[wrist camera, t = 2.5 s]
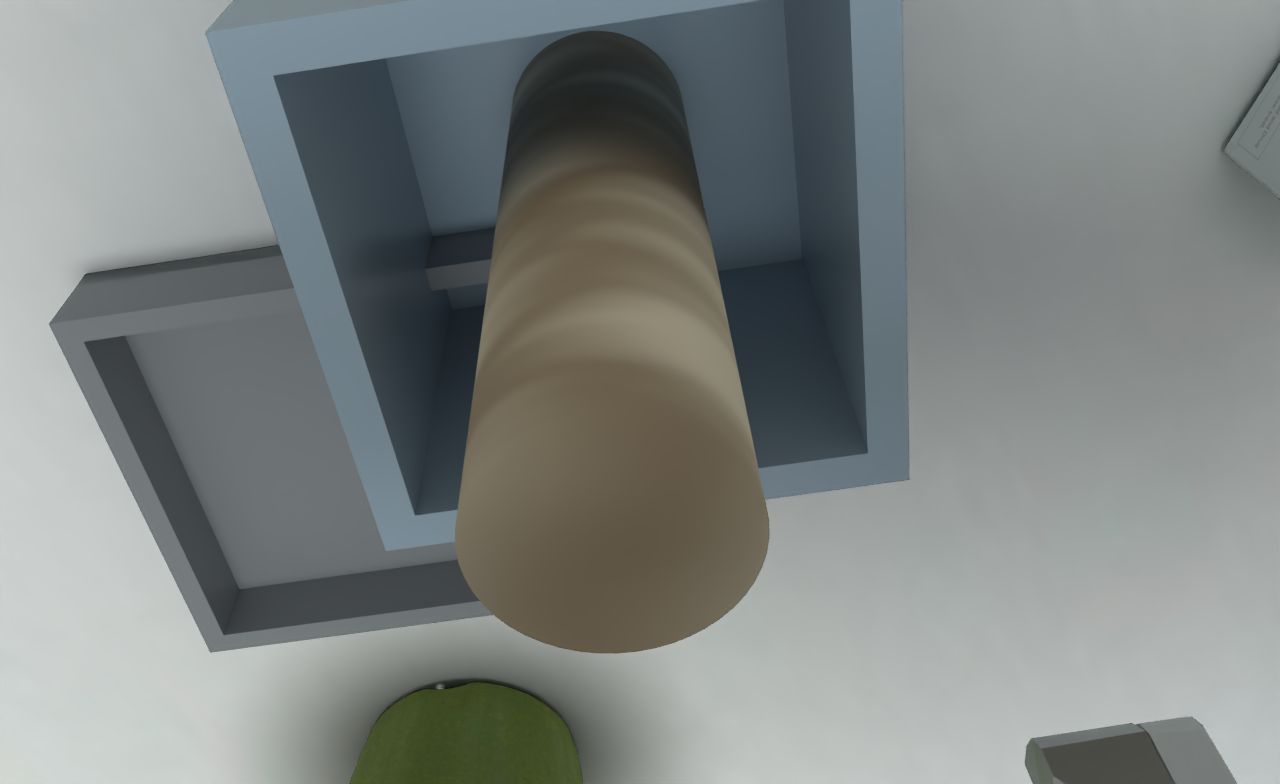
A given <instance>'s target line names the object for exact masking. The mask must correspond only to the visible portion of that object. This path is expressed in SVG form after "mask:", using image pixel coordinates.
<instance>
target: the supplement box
mask: <svg viewBox="0 0 1280 784" xmlns="http://www.w3.org/2000/svg"><path fill="white" fill-rule="evenodd" d="M1224 152H1225V154H1226V155H1228V156H1229V157H1230V158H1231V159H1232V160H1233V161H1234V162H1235V163H1237V164H1238V165H1239V166H1240V167H1241V168H1243V169H1244V170H1245V171H1246V172H1247V173H1249V174H1250V175H1251V176H1252V177H1253V178H1255V179H1256V180H1257V181H1258V182H1260V183H1261V184H1262V185H1263V186H1264V187H1266V188H1267V189H1268V190H1269V191H1270V192H1272V193H1273V194H1274V195H1275V196H1276V197H1278V198H1279V199H1280V63H1279V65H1278V66H1277V68H1276V69H1275V71H1274V73H1273V74H1272V76H1271V77H1270V79H1269V80H1268V82H1267V83H1266V85H1265V87H1264V88H1263V90H1262V91H1261V93H1260V94H1259V96H1258V98H1257V99H1256V101H1255V102H1254V104H1253V105H1252V107H1251V109H1250V110H1249V112H1248V113H1247V115H1246V116H1245V118H1244V119H1243V121H1242V123H1241V124H1240V126H1239V127H1238V129H1237V130H1236V132H1235V133H1234V135H1233V136H1232V138H1231V139H1230V141H1229V143H1228V144H1227V146H1226V148H1225V150H1224Z"/></svg>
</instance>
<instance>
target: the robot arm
mask: <svg viewBox="0 0 1280 784" xmlns="http://www.w3.org/2000/svg"><path fill="white" fill-rule="evenodd" d="M1025 765H1026V768H1027V770H1028V773H1029V775H1030V778H1031V781H1032V783H1033V784H1237V782H1236V781H1235V779H1234V777H1233V775H1232V774H1231V772H1230V770H1229V769H1228V767H1227V765H1226V764H1225V762H1224V760H1223V759H1222V757H1221V755H1220V754H1219V752H1218V750H1217V749H1216V747H1215V745H1214V743H1213V742H1212V740H1211V738H1210V737H1209V735H1208V733H1207V732H1206V730H1205V728H1204V727H1203V725H1202V724H1200V723H1199V722H1198V721H1197V720H1196V719H1194V718H1193V717H1180V718H1173V719H1167V720H1160V721H1154V722H1147V723H1141V724H1136V725H1135V724H1133V723H1129V724H1122V725H1116V726H1109V727H1103V728H1096V729H1090V730H1083V731H1077V732H1070V733H1063V734H1057V735H1050V736H1044V737H1037V738H1031V740H1030V741H1029V743H1028V745H1027V746H1026V757H1025Z"/></svg>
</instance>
